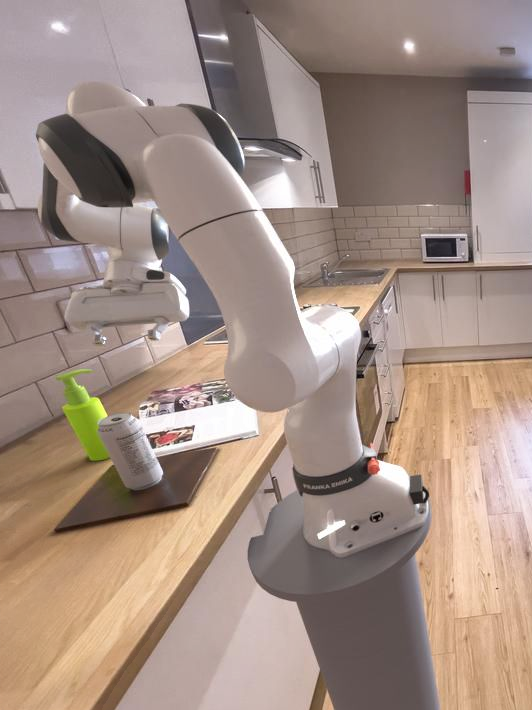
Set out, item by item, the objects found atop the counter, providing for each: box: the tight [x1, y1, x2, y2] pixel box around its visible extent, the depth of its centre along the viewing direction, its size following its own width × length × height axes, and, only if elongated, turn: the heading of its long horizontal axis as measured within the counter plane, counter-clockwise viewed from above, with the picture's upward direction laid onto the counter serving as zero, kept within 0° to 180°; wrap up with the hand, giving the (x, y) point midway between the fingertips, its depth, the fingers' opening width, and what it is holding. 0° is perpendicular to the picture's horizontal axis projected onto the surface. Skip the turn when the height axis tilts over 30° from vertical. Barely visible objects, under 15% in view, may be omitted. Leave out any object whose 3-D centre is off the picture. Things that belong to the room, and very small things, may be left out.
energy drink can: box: [97, 411, 163, 490], centre depth 80 cm, size 6×6×15 cm
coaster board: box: [53, 446, 219, 533], centre depth 83 cm, size 20×20×1 cm
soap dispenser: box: [55, 368, 111, 462], centre depth 91 cm, size 6×7×20 cm
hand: (126, 341), depth 83 cm, fingers open, 8 cm apart
